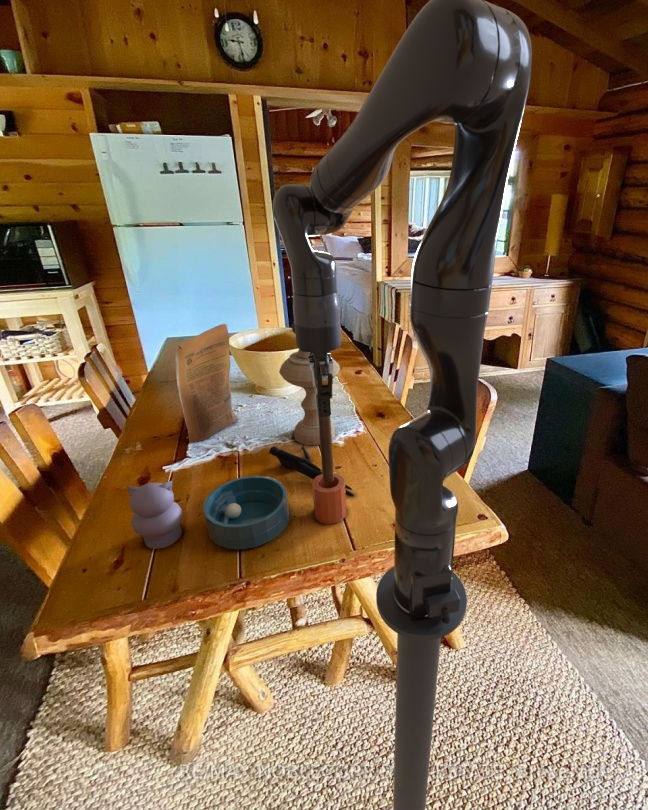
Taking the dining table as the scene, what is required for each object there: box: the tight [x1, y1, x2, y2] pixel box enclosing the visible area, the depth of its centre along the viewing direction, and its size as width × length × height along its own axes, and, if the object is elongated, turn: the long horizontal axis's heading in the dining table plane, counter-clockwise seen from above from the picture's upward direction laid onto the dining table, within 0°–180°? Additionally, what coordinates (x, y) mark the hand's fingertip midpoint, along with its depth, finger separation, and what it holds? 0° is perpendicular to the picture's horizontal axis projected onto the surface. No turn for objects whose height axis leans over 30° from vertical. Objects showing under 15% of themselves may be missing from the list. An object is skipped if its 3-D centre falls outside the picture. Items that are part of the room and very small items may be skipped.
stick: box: [317, 403, 335, 483], centre depth 83 cm, size 2×2×20 cm
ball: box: [225, 503, 241, 519], centre depth 88 cm, size 3×3×3 cm
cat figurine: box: [126, 480, 183, 550], centre depth 82 cm, size 8×8×12 cm
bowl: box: [202, 475, 290, 550], centre depth 87 cm, size 15×15×6 cm
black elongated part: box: [269, 444, 355, 497], centre depth 103 cm, size 8×9×25 cm
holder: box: [311, 472, 347, 525], centre depth 89 cm, size 6×6×8 cm
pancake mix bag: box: [174, 323, 237, 443], centre depth 115 cm, size 7×19×28 cm, turn 155°
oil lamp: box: [278, 321, 341, 446], centre depth 110 cm, size 15×15×40 cm
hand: (323, 411), depth 80 cm, fingers closed on stick, 2 cm apart
